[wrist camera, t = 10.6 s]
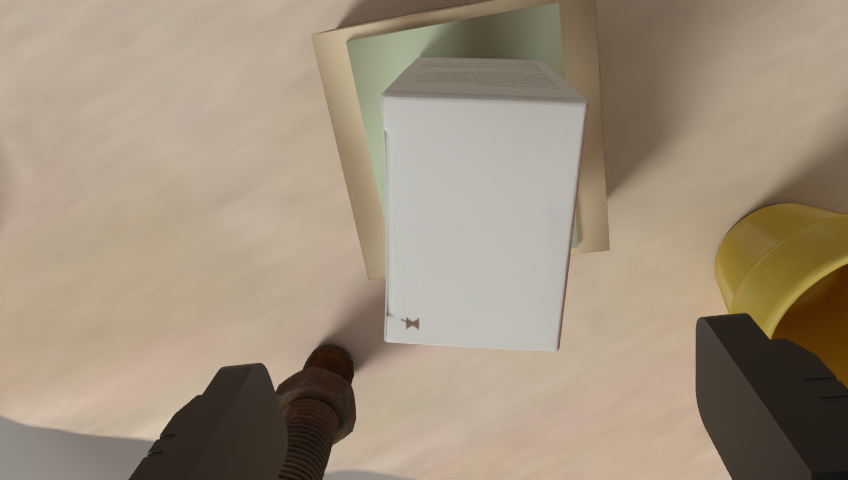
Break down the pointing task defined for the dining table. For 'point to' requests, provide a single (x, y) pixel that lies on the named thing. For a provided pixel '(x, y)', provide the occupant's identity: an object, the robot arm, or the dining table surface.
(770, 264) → the plant pot
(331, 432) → the bolt
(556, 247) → the small box
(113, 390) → the dining table surface
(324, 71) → the base block
